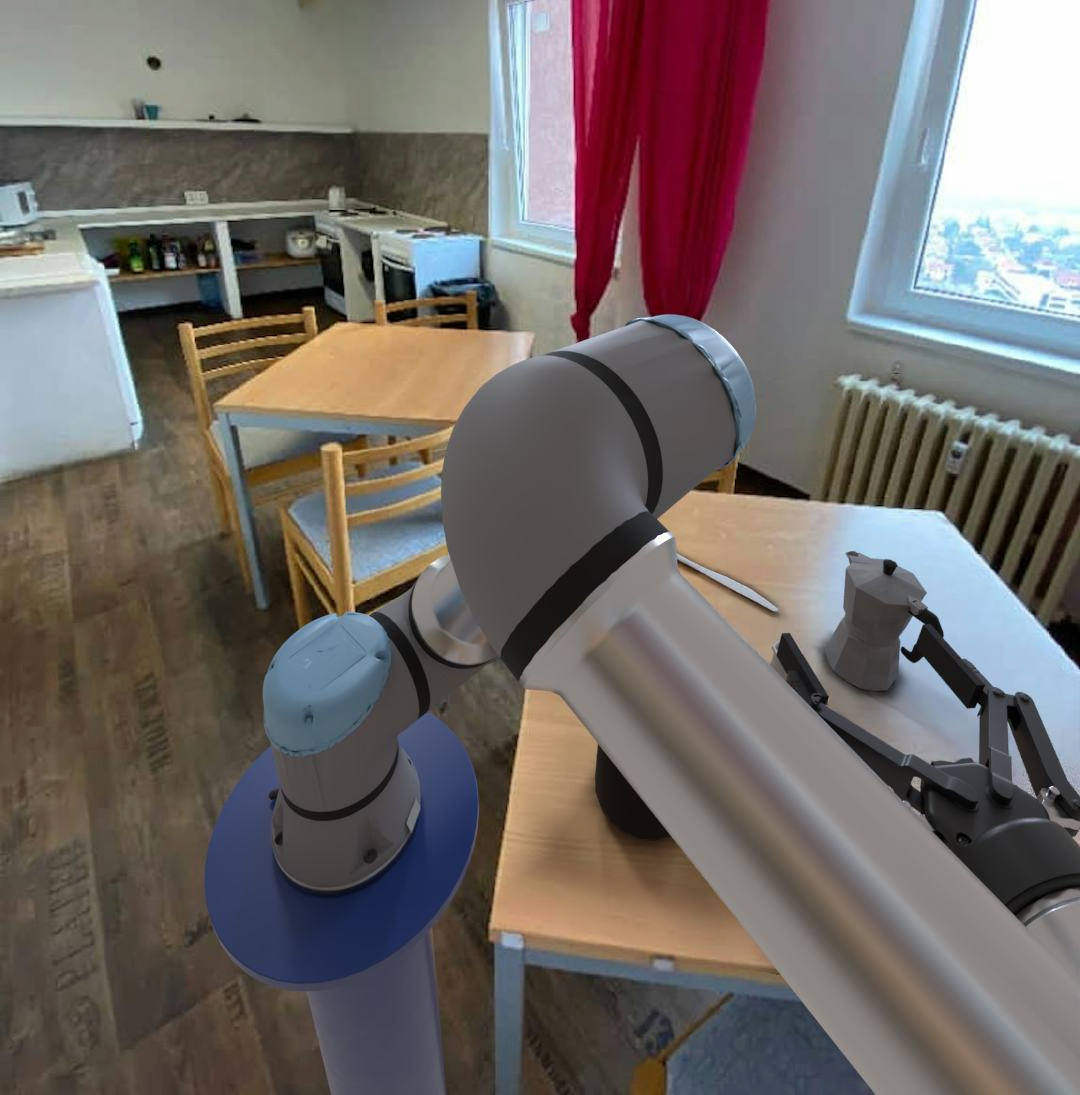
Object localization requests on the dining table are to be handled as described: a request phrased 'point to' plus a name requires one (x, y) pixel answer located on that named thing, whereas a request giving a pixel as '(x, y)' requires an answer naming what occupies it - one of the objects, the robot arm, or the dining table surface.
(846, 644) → the coffeepot
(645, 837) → the coffee jar
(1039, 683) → the dining table surface
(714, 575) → the butter knife
